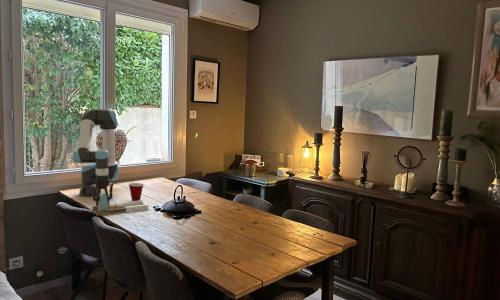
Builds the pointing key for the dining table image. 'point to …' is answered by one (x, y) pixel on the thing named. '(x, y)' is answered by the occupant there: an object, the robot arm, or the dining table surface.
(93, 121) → the robot arm
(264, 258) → the dining table surface
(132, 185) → the plastic cup
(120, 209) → the channel board
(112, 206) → the cube
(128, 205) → the tray
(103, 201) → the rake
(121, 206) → the cube
